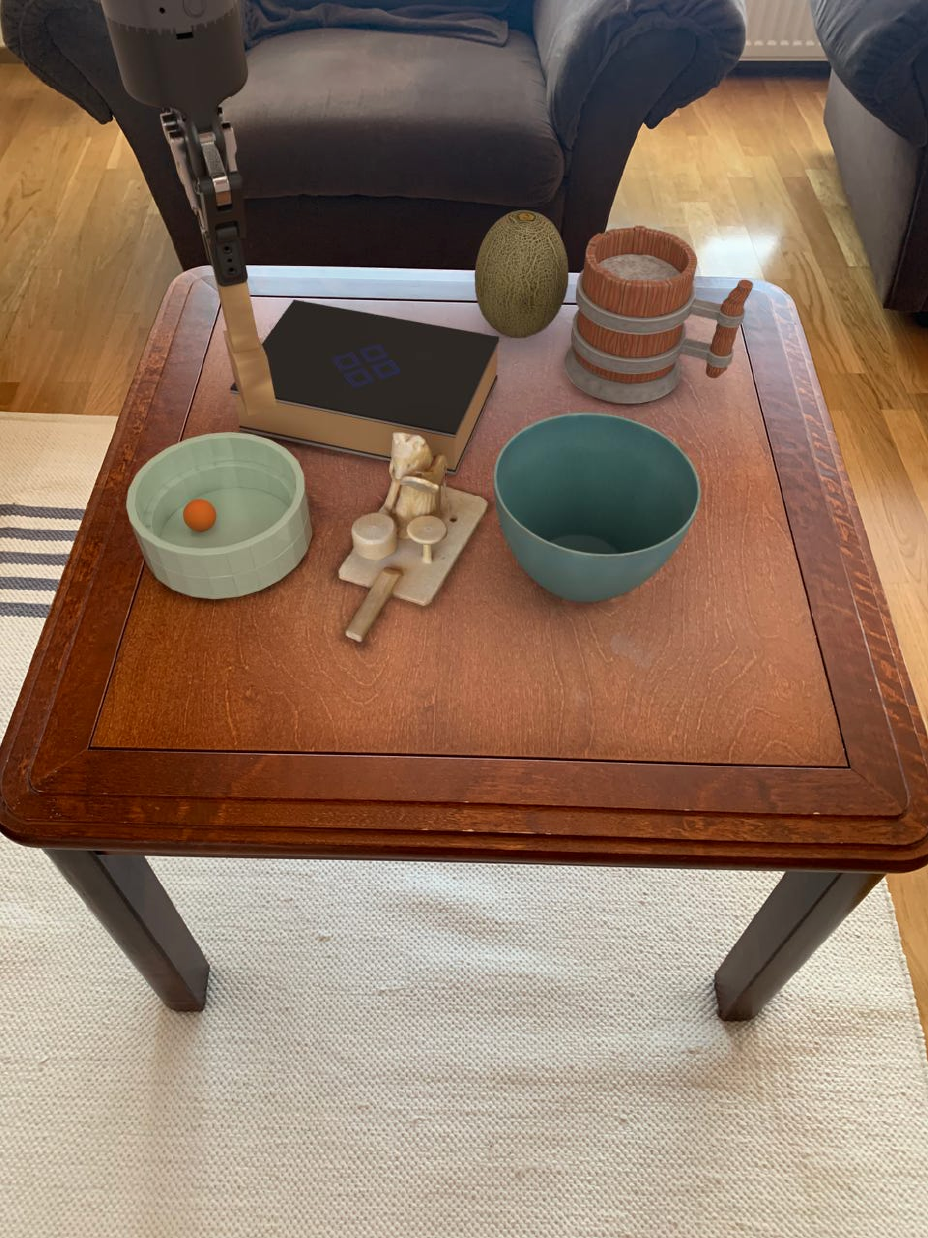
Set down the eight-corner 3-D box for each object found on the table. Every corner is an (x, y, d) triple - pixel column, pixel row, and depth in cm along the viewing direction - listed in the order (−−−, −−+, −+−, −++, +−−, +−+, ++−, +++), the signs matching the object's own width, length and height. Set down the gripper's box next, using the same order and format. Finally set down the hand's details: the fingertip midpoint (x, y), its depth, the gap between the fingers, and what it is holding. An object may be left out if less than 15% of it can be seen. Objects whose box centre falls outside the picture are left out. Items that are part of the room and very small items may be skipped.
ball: (190, 541, 91) (183, 519, 89) (184, 520, 93) (176, 497, 91) (222, 532, 92) (216, 510, 90) (215, 511, 94) (208, 488, 91)
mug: (583, 325, 116) (598, 209, 104) (734, 361, 112) (768, 245, 100) (547, 389, 108) (559, 272, 96) (709, 431, 104) (741, 313, 92)
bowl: (164, 625, 86) (144, 575, 80) (132, 508, 95) (112, 457, 90) (334, 574, 90) (326, 524, 84) (287, 467, 99) (277, 415, 94)
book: (301, 347, 113) (293, 298, 108) (497, 384, 109) (499, 335, 103) (240, 436, 102) (229, 387, 97) (455, 481, 98) (455, 433, 93)
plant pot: (667, 509, 96) (691, 416, 86) (682, 649, 84) (711, 560, 75) (493, 500, 96) (497, 407, 87) (485, 638, 85) (488, 548, 75)
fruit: (567, 356, 112) (580, 240, 100) (475, 357, 112) (477, 241, 100) (557, 303, 119) (569, 189, 107) (471, 304, 119) (473, 189, 107)
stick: (248, 415, 73) (204, 224, 61) (235, 382, 76) (190, 192, 63) (277, 408, 74) (240, 217, 61) (263, 376, 76) (225, 186, 64)
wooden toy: (405, 475, 99) (399, 370, 88) (493, 505, 96) (498, 399, 85) (298, 621, 86) (276, 518, 76) (395, 659, 84) (387, 558, 73)
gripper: (85, -35, 56) (159, 235, 69) (121, 52, 48) (196, 337, 61) (208, -50, 57) (256, 217, 71) (262, 31, 50) (305, 314, 63)
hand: (228, 272), depth 66 cm, fingers closed on stick, 2 cm apart
